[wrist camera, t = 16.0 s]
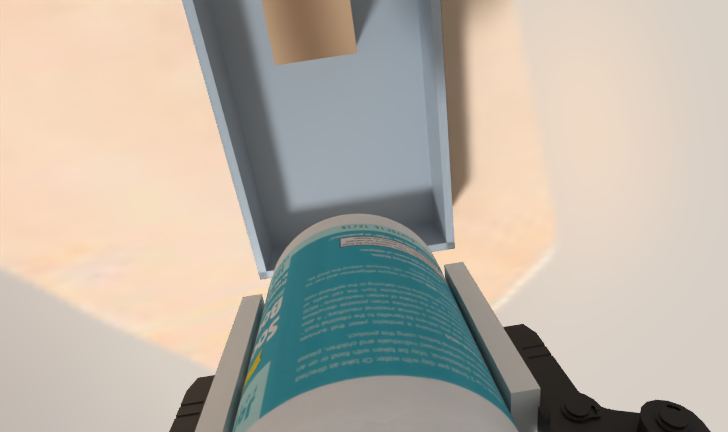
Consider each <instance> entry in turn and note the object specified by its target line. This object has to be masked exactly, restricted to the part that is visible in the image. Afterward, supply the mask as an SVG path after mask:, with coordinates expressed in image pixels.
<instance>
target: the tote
mask: <svg viewBox="0 0 728 432" xmlns="http://www.w3.org/2000/svg"><path fill="white" fill-rule="evenodd" d="M182 2H183V6H184V9H185V13H186V16H187V20H188V23H189V27H190V31H191V34H192V38H193V41H194V45H195V48H196V52H197V55H198V59H199V63H200V66H201V70H202V73H203V77H204V80H205V84H206V87H207V91H208V95H209V98H210V102H211V105H212V109H213V112H214V116H215V119H216V123H217V127H218V130H219V134H220V137H221V141H222V144H223V148H224V151H225V155H226V159H227V162H228V166H229V169H230V173H231V176H232V180H233V184H234V187H235V191H236V194H237V198H238V201H239V205H240V208H241V212H242V216H243V219H244V223H245V226H246V230H247V233H248V237H249V240H250V244H251V248H252V251H253V255H254V258H255V262H256V265H257V269H258V272H259V276H260V279H266V278H272V276H273V272H274V269H275V267H276V264H277V262H278V260H279V258H280V257H281V255H282V253H283V252H284V250H285V249H286V248H287V246H288V245H289V244H290V243H291V242H292V241H293V240H294V239H295V238H296V237H297V236H298V235H299V234H301V233H302V232H303V231H305V230H306V229H308V228H309V227H311V226H312V225H314V224H316V223H318V222H321V221H323V220H325V219H329V218H332V217H335V216H340V215H346V214H372V215H377V216H381V217H385V218H388V219H391V220H393V221H396V222H398V223H400V224H402V225H404V226H405V227H407V228H409V229H410V230H411V231H413V232H414V233H415V234H416V235H417V236H419V237H420V238H421V239H422V241H423V242H424V243H425V244H426V245H427V246H428V248H429V249H430V251H431V252H435V251H441V250H447V249H454V248H455V244H454V227H453V209H452V192H451V174H450V157H449V140H448V122H447V105H446V87H445V70H444V53H443V35H442V18H441V0H350V3H351V11H352V18H353V25H354V33H355V40H356V48H357V53H354V54H348V55H341V56H335V57H328V58H321V59H315V60H308V61H302V62H295V63H289V64H282V65H275V62H274V58H273V53H272V48H271V44H270V39H269V34H268V29H267V25H266V20H265V15H264V11H263V6H262V1H261V0H182Z"/></svg>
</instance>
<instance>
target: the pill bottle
mask: <svg viewBox="0 0 728 432" xmlns="http://www.w3.org/2000/svg"><path fill="white" fill-rule="evenodd" d="M232 432H519V431H518V429H517V427H516V425H515V422H514V420H513V418H512V416H511V414H510V412H509V410H508V408H507V406H506V404H505V402H504V400H503V398H502V396H501V394H500V392H499V390H498V388H497V386H496V384H495V382H494V380H493V378H492V376H491V374H490V372H489V369H488V367H487V365H486V363H485V361H484V359H483V357H482V355H481V353H480V351H479V349H478V347H477V345H476V342H475V340H474V338H473V336H472V334H471V332H470V330H469V328H468V326H467V324H466V322H465V320H464V318H463V315H462V313H461V311H460V309H459V307H458V305H457V303H456V301H455V299H454V297H453V295H452V292H451V290H450V288H449V286H448V284H447V282H446V280H445V278H444V276H443V273H442V271H441V269H440V267H439V265H438V263H437V261H436V259H435V258H434V256H433V254H432V252H431V251H430V249H429V248H428V246H427V245H426V244H425V243H424V242H423V241H422V239H421V238H420V237H419V236H417V235H416V234H415V233H414V232H413V231H411V230H410V229H409V228H407V227H405V226H404V225H402V224H400V223H398V222H396V221H393V220H391V219H388V218H385V217H381V216H377V215H372V214H346V215H340V216H335V217H332V218H329V219H325V220H323V221H321V222H318V223H316V224H314V225H312V226H311V227H309V228H308V229H306V230H305V231H303V232H302V233H301V234H299V235H298V236H297V237H296V238H295V239H294V240H293V241H292V242H291V243H290V244H289V245H288V246H287V248H286V249H285V250H284V252H283V253H282V255H281V257H280V258H279V260H278V262H277V264H276V267H275V269H274V272H273V276H272V279H271V283H270V286H269V290H268V294H267V298H266V303H265V306H264V310H263V314H262V318H261V322H260V326H259V330H258V334H257V338H256V342H255V345H254V349H253V353H252V357H251V361H250V365H249V368H248V372H247V376H246V380H245V384H244V388H243V392H242V396H241V400H240V404H239V407H238V411H237V415H236V419H235V423H234V427H233V431H232Z"/></svg>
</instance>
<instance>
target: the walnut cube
mask: <svg viewBox="0 0 728 432" xmlns="http://www.w3.org/2000/svg"><path fill="white" fill-rule="evenodd" d="M261 1H262V6H263V11H264V15H265V20H266V25H267V29H268V34H269V39H270V44H271V48H272V53H273V58H274V62H275V65H282V64H289V63H295V62H302V61H308V60H315V59H321V58H328V57H335V56H341V55H348V54H354V53H357V48H356V40H355V33H354V25H353V18H352V11H351V3H350V0H261Z"/></svg>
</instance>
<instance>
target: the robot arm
mask: <svg viewBox="0 0 728 432" xmlns="http://www.w3.org/2000/svg"><path fill="white" fill-rule="evenodd" d="M444 267H445V280H446V282H447V284H448V286H449V288H450V290H451V292H452V295H453V297H454V299H455V301H456V303H457V305H458V307H459V309H460V311H461V313H462V315H463V318H464V320H465V322H466V324H467V326H468V328H469V330H470V332H471V334H472V336H473V338H474V340H475V342H476V345H477V347H478V349H479V351H480V353H481V355H482V357H483V359H484V361H485V363H486V365H487V367H488V369H489V372H490V374H491V376H492V378H493V380H494V382H495V384H496V386H497V388H498V390H499V392H500V394H501V396H502V398H503V400H504V402H505V404H506V406H507V408H508V410H509V412H510V414H511V416H512V418H513V420H514V422H515V425H516V427H517V429H518V431H519V432H710V431H709V429H708V428H707V427H706V425H705V424H704V423H703V422H702V421H701V420H700V419H699V418H698V417H697V416H696V415H695V414H694V413H693V412H691V411H690V410H688V409H686V408H685V407H683V406H681V405H678V404H676V403H673V402H669V401H663V400H654V401H649V402H646V403H645V404H644V405H643V406H642V407H641V412H640V413H634V412H626V411H616V410H611V409H606V408H603V407H601V406H600V405H599V404H598V403H597V402H596V401H595V400H594V399H592V398H590V397H588V396H586V395H585V394H582V393H579V391H577V389H576V388H575V386H574V385H573V383H572V382H571V381H570V379H569V378H568V376H567V375H566V374H565V372H564V371H563V370H562V369H561V367H560V365H559V364H558V363H557V361H556V360H555V358H554V357H553V356H551V353H550V352H549V350H548V349H547V347H545V345H544V343H543V342H542V340H541V339H540V338H539V336H538V335H537V333H536V332H534V331H533V330H531V329H530V328H528V327H527V326H525V325H524V324H520V325H514V326H508V327H503V326H502V325H501V323H500V322H499V320H498V318H497V317H496V315H495V313H494V312H493V310H492V309H491V307H490V305H489V304H488V302H487V300H486V299H485V297H484V296H483V294H482V292H481V291H480V289H479V287H478V286H477V284H476V283H475V281H474V279H473V278H472V276H471V274H470V273H469V271H468V270H467V268H466V266H465V265H464V263H463V262H459V263H453V264H447V265H444ZM264 306H265V304H264V300H263V297H262V294H260V295H253V296H247V297H243V298H242V301H241V304H240V307H239V310H238V312H237V315H236V318H235V321H234V324H233V326H232V329H231V332H230V335H229V337H228V340H227V343H226V346H225V349H224V351H223V354H222V357H221V360H220V363H219V365H218V368H217V371H216V374H215V375H213V376H207V377H200V378H198V379H197V380H196V381H195V382H194V383H193V384H192V385H191V387H190V388H189V389H188V390H187V392H186V394H185V396H184V398H183V401H182V403H181V407H180V408H179V410H178V413H177V415H176V419H175V420H174V422H173V425H172V427H171V429H170V431H169V432H232V431H233V427H234V423H235V419H236V415H237V411H238V407H239V404H240V400H241V396H242V392H243V388H244V384H245V380H246V376H247V372H248V368H249V365H250V361H251V357H252V353H253V349H254V345H255V342H256V338H257V334H258V330H259V326H260V322H261V318H262V314H263V310H264Z"/></svg>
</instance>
